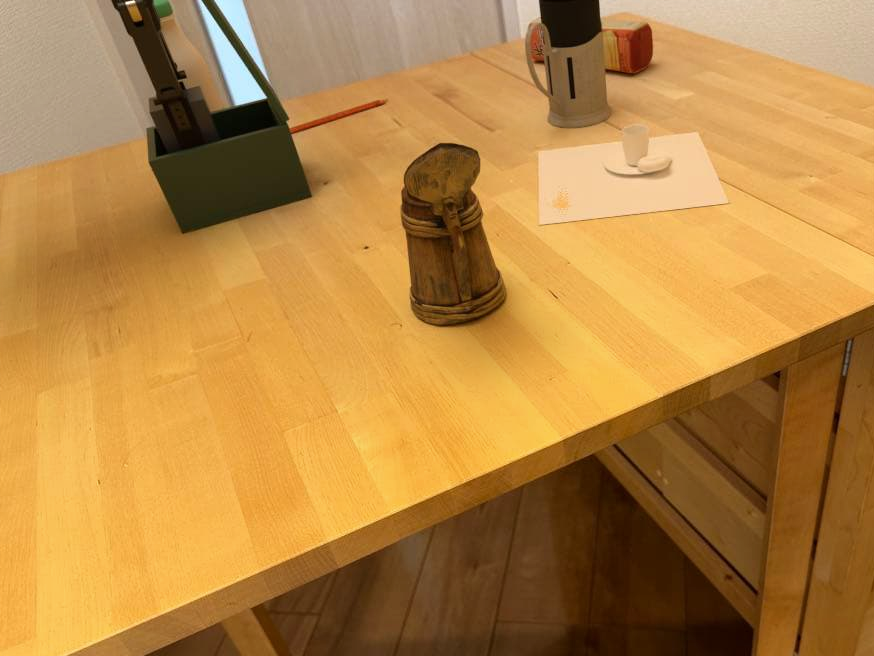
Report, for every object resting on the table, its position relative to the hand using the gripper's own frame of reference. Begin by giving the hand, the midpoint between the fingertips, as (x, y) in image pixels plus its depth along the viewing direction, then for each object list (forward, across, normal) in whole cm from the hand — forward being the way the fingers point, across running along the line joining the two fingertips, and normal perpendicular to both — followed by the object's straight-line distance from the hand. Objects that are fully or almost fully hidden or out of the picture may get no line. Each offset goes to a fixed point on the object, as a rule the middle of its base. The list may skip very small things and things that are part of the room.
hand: (195, 146), depth 92 cm
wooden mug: (+7, -42, -19) cm, 46 cm away
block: (0, 0, 0) cm, 0 cm away
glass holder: (+8, -6, -46) cm, 47 cm away
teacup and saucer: (+8, -26, -44) cm, 52 cm away
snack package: (+8, +14, -59) cm, 61 cm away
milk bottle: (+7, +19, -1) cm, 20 cm away
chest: (+7, 0, -3) cm, 8 cm away
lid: (-10, 0, -8) cm, 13 cm away
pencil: (+7, +20, -20) cm, 29 cm away
